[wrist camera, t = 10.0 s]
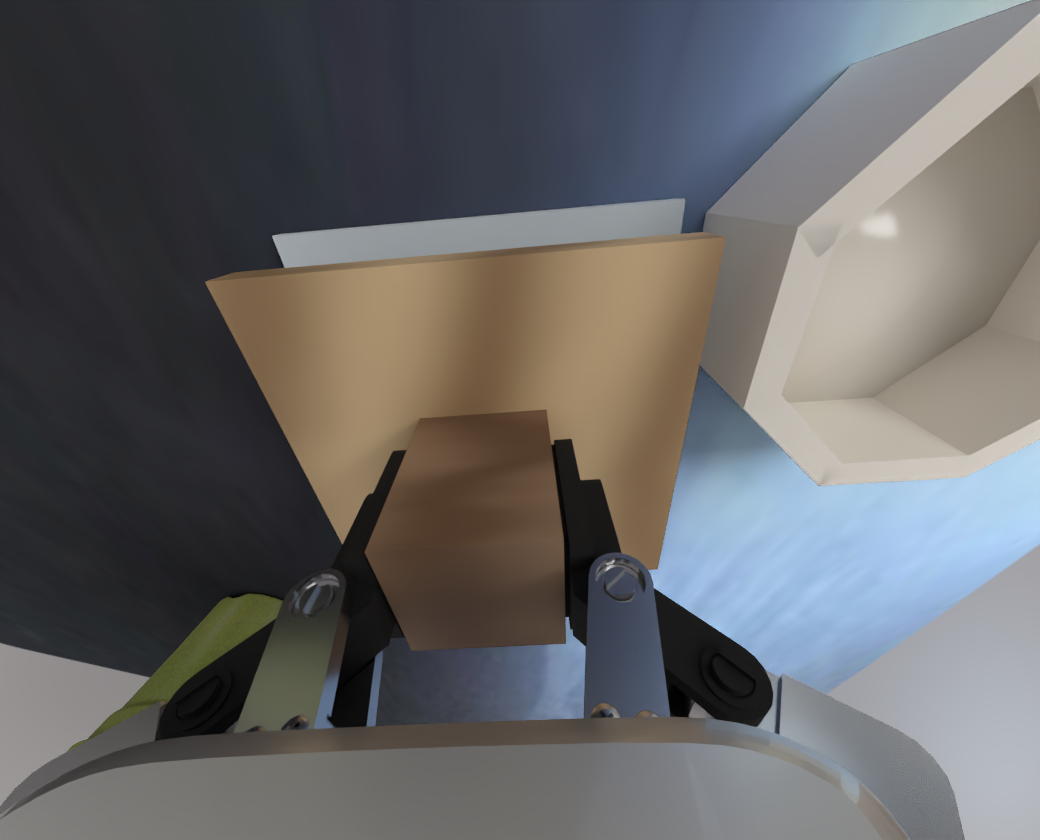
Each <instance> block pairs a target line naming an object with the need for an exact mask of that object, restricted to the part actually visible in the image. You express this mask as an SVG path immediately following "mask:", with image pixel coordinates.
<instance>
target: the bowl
mask: <svg viewBox="0 0 1040 840" xmlns="http://www.w3.org/2000/svg"><path fill="white" fill-rule="evenodd" d="M702 232H707V233H711V234H715V235H719V236H723V237H726V239H725V244H724V249H723V254H722V259H721V264H720V268H719V273H718V278H717V283H716V288H715V293H714V297H713V302H712V307H711V312H710V317H709V322H708V327H707V331H706V336H705V341H704V346H703V351H702V356H701V361H700V366H701V367H702V368H703V369H704V370H705V371H706V372H707V373H708V374H709V375H710V376H711V377H712V378H713V379H714V380H715V381H716V382H717V383H718V384H719V386H720V387H721V388H722V389H723V390H724V391H725V392H726V393H727V394H728V395H729V396H730V397H731V398H732V399H733V400H734V401H735V402H736V403H737V404H738V405H739V406H740V407H741V408H742V409H743V410H744V411H745V412H746V413H747V414H748V415H749V417H750V418H751V419H752V420H753V421H754V422H755V423H756V424H757V425H758V426H759V427H760V428H761V429H762V430H763V431H764V432H765V433H766V434H767V435H768V436H769V437H770V438H771V439H772V440H773V441H774V442H775V443H776V444H777V445H778V446H779V447H780V448H781V449H782V450H783V451H784V452H785V453H786V454H787V455H788V456H789V457H790V458H791V459H792V460H793V461H794V462H795V463H796V464H797V465H798V466H799V467H800V468H801V469H802V470H803V471H804V472H805V473H806V474H807V475H808V476H809V477H810V478H811V479H812V480H813V481H814V482H815V483H816V484H817V485H818V486H826V485H843V484H859V483H876V482H893V481H910V480H927V479H944V478H961V477H966V476H968V475H970V474H972V473H974V472H976V471H978V470H980V469H982V468H984V467H986V466H988V465H990V464H992V463H994V462H996V461H998V460H1000V459H1002V458H1004V457H1006V456H1008V455H1010V454H1012V453H1014V452H1016V451H1018V450H1020V449H1022V448H1024V447H1026V446H1028V445H1030V444H1032V443H1034V442H1036V441H1038V440H1040V0H1031V1H1028V2H1025V3H1023V4H1020V5H1017V6H1014V7H1011V8H1009V9H1006V10H1003V11H1000V12H997V13H995V14H992V15H989V16H986V17H983V18H981V19H978V20H975V21H972V22H969V23H966V24H964V25H961V26H958V27H955V28H952V29H950V30H947V31H944V32H941V33H938V34H936V35H933V36H930V37H927V38H924V39H922V40H919V41H916V42H913V43H910V44H907V45H905V46H902V47H899V48H896V49H893V50H891V51H888V52H885V53H882V54H879V55H877V56H874V57H871V58H868V59H865V60H863V61H860V62H857V63H854V64H852V65H851V66H850V67H849V68H848V69H847V70H846V71H845V72H844V73H843V74H842V75H841V76H840V77H839V78H838V79H837V80H836V81H835V82H834V83H833V84H832V85H831V86H830V87H829V88H828V89H827V90H826V91H825V92H824V93H823V94H822V95H821V96H820V97H819V98H818V99H817V100H816V101H815V102H814V104H813V105H812V106H811V107H810V108H809V109H808V110H807V111H806V112H805V113H804V114H803V115H802V116H801V117H800V118H799V119H798V120H797V121H796V122H795V123H794V124H793V125H792V126H791V127H790V128H789V129H788V130H787V131H786V132H785V133H784V134H783V135H782V136H781V137H780V138H779V139H778V140H777V141H776V142H775V143H774V144H773V145H772V146H771V147H770V148H769V149H768V150H767V151H766V152H765V153H764V154H763V155H762V156H761V157H760V158H759V159H758V160H757V161H756V162H755V163H754V164H753V165H752V166H751V167H750V168H749V169H748V170H747V171H746V172H745V174H744V175H743V176H742V177H741V178H740V179H739V180H738V181H737V182H736V183H735V184H734V185H733V186H732V187H731V188H730V189H729V190H728V191H727V192H726V193H725V194H724V195H723V196H722V197H721V198H720V199H719V200H718V201H717V202H716V203H715V204H714V205H713V206H712V207H711V208H710V209H709V210H708V211H707V212H706V214H705V220H704V226H703V231H702Z"/></svg>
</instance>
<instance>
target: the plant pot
mask: <svg viewBox="0 0 1040 840" xmlns="http://www.w3.org/2000/svg"><path fill="white" fill-rule="evenodd" d="M282 602H283V600H279V599H276V598H273V597H270V596H265V595H262V594H246V595H243V596H241V597H237V598H231V597H226V598H224V599H222V600H221V601H220V602H219V603H218V604H217V605H216V606H215V607H214V608H213V609H212V611H211V612H210V613H209V614H208V615H207V616H206V617H205V618H204V619H203V620H202V621H201V623H200V624H199V625H198V626H197V627H196V628H195V629H194V631H193V632H192V633H191V634H190V635H189V636H188V637H187V638H186V639H185V641H184V642H183V643H182V644H181V645H180V646H179V647H178V648H177V649H176V650H175V652H174V653H173V654H172V655H171V656H170V657H169V658H168V659H167V660H166V661H165V662H164V663H163V665H162V666H161V667H160V668H159V669H158V670H157V671H156V672H155V673H154V674H153V675H152V676H151V678H150V679H149V680H148V681H147V682H146V683H145V684H144V685H143V686H142V687H141V688H140V689H139V690H138V692H137V693H136V694H135V695H134V696H133V697H132V698H131V699H130V700H129V701H128V702H127V703H126V704H125V706H123V708H121V709H120V710H118V711H116V712H114V713H113V714H112V715H110V716H109V717H108V718H107V719H106V720H105V721H104V722H103V723H102V725H101V726H100V727H99V728H98V729H97V730H96V731H95V732H94V733H93V734H92V735H91V736H90V737H89V738H88V739H87V740H84V741H81V742H78V743H76V744H75V745H73V746H72V747H71V748H70V749H69V750H68V751H70V750H71V749H73V748H75V747H77V746H79V745H80V744H82V743H84V742H86V741H88V740H90V739H91V738H93V737H95V736H97V735H99V734H101V733H102V732H104V731H106V730H108V729H110V728H111V727H113V726H115V725H117V724H119V723H121V722H122V721H124V720H126V719H128V718H130V717H132V716H133V715H135V714H137V713H139V712H141V711H142V710H144V709H146V708H148V707H150V706H152V705H153V704H155V703H157V702H159V701H161V700H162V701H163V702H165V703H168V702H169V701H170V699H171V698H172V696H173V695H174V693H175V692H176V691H177V690H178V689H179V688H180V687H181V686H182V685H183V684H184V683H185V682H186V681H187V680H188V679H190V678H191V677H192V676H193V675H195V674H196V673H197V672H199V671H200V670H201V669H203V668H204V667H206V666H207V665H209V664H210V663H212V662H213V661H215V660H216V659H218V658H219V657H220V656H222V655H223V654H225V653H226V652H228V651H229V650H231V649H232V648H234V647H235V646H236V645H238V644H239V643H241V642H242V641H244V640H245V639H247V638H248V637H250V636H251V635H252V634H254V633H255V632H257V631H258V630H260V629H261V628H263V627H264V626H266V625H267V624H268V623H270V622H271V621H273V620H274V619H276V618H277V616H278V613H279V610H280V607H281V605H282ZM68 751H67V752H68Z"/></svg>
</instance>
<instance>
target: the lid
mask: <svg viewBox="0 0 1040 840" xmlns="http://www.w3.org/2000/svg"><path fill="white" fill-rule="evenodd" d="M725 239H726V237H723V236H719V235H715V234H711V233H707V232H696V233H684V234H673V235H661V236H649V237H638V238H626V239H615V240H603V241H591V242H580V243H568V244H557V245H545V246H533V247H522V248H510V249H499V250H487V251H476V252H464V253H452V254H441V255H429V256H418V257H406V258H394V259H383V260H371V261H360V262H348V263H336V264H325V265H313V266H302V267H290V268H278V269H267V270H255V271H244V272H235V273H231V274H228V275H225V276H222V277H218V278H215V279H212V280H209V281H206V282H205V283H206V285H207V287H208V289H209V291H210V292H211V294H212V296H213V298H214V300H215V302H216V304H217V306H218V308H219V310H220V312H221V314H222V315H223V317H224V319H225V321H226V323H227V325H228V327H229V329H230V331H231V333H232V335H233V336H234V338H235V340H236V342H237V344H238V346H239V348H240V350H241V352H242V354H243V356H244V357H245V359H246V361H247V363H248V365H249V367H250V369H251V371H252V373H253V375H254V377H255V378H256V380H257V382H258V384H259V386H260V388H261V390H262V392H263V394H264V396H265V398H266V400H267V401H268V403H269V405H270V407H271V409H272V411H273V413H274V415H275V417H276V419H277V421H278V422H279V424H280V426H281V428H282V430H283V432H284V434H285V436H286V438H287V440H288V442H289V443H290V445H291V447H292V449H293V451H294V453H295V455H296V457H297V459H298V461H299V463H300V464H301V466H302V468H303V470H304V472H305V474H306V476H307V478H308V480H309V482H310V484H311V486H312V487H313V489H314V491H315V493H316V495H317V497H318V499H319V501H320V503H321V505H322V507H323V508H324V510H325V512H326V514H327V516H328V518H329V520H330V522H331V524H332V526H333V528H334V529H335V531H336V533H337V535H338V537H339V539H340V541H341V543H342V545H343V543H344V541H345V538H346V536H347V534H348V532H349V530H350V528H351V526H352V524H353V522H354V520H355V518H356V516H357V514H358V512H359V510H360V508H361V505H362V503H363V501H364V499H365V498H366V496H367V495H368V494H370V493H373V492H374V490H375V488H376V486H377V483H378V481H379V479H380V477H381V475H382V473H383V471H384V468H385V466H386V464H387V462H388V460H389V458H390V456H391V453H392V452H393V451H396V450H407V451H406V453H405V456H404V458H403V461H402V463H401V465H400V468H399V470H398V473H397V475H396V478H395V480H394V482H393V485H392V487H391V490H390V492H389V494H388V497H387V499H386V502H385V504H384V507H383V509H382V511H381V514H380V516H379V519H378V521H377V523H376V526H375V528H374V531H373V533H372V535H371V538H370V540H369V543H368V545H367V548H366V550H365V554H366V557H367V559H368V561H369V563H370V565H371V567H372V569H373V571H374V573H375V575H376V577H377V579H378V581H379V584H380V586H381V588H382V590H383V592H384V594H385V596H386V598H387V600H388V602H389V604H390V606H391V608H392V611H393V613H394V615H395V617H396V619H397V621H398V623H399V625H400V627H401V629H402V631H403V633H404V635H405V638H406V640H407V642H408V644H409V646H410V648H411V650H412V651H419V650H440V649H461V648H483V647H504V646H525V645H546V644H566V628H565V574H564V538H563V530H562V523H561V515H560V508H559V500H558V493H557V485H556V478H555V470H554V463H553V455H552V448H551V445H554V440H560V439H572V443H573V447H574V452H575V457H576V461H577V466H578V471H579V475H580V480H592V479H600V480H601V482H602V485H603V489H604V492H605V496H606V499H607V503H608V506H609V510H610V513H611V517H612V520H613V524H614V527H615V531H616V534H617V538H618V542H619V545H620V549H621V552H622V553H623V554H627V555H630V556H632V557H634V558H636V559H638V560H639V561H640V562H641V563H642V564H643V565H645V567H646V568H647V570H651V569H658V564H659V559H660V555H661V550H662V545H663V540H664V535H665V530H666V525H667V521H668V516H669V511H670V506H671V501H672V496H673V491H674V487H675V482H676V477H677V472H678V467H679V462H680V458H681V453H682V448H683V443H684V438H685V433H686V428H687V424H688V419H689V414H690V409H691V404H692V399H693V394H694V390H695V385H696V380H697V375H698V370H699V365H700V361H701V356H702V351H703V346H704V341H705V336H706V331H707V327H708V322H709V317H710V312H711V307H712V302H713V297H714V293H715V288H716V283H717V278H718V273H719V268H720V264H721V259H722V254H723V249H724V244H725Z"/></svg>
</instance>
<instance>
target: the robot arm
mask: <svg viewBox="0 0 1040 840" xmlns="http://www.w3.org/2000/svg"><path fill="white" fill-rule="evenodd" d="M551 448H552V455H553V463H554V470H555V478H556V485H557V493H558V500H559V508H560V515H561V523H562V530H563V538H564V574H565V617H569V621H570V629H573V636H574V637H576V638H577V639H578V640H579V641H580V642H581V643H582V644H584V645H585V646H586V660H585V693H584V718H583V719H554V720H525V721H496V722H470V723H444V724H419V725H394V726H375V722H376V713H377V704H378V695H379V686H380V677H381V668H382V659H383V649H384V648H385V647H386V646H388V645H389V642H390V638H403V637H404V633H403V631H402V629H401V627H400V625H399V623H398V621H397V619H396V617H395V615H394V613H393V611H392V608H391V606H390V604H389V602H388V600H387V598H386V596H385V594H384V592H383V590H382V588H381V586H380V584H379V581H378V579H377V577H376V575H375V573H374V571H373V569H372V567H371V565H370V563H369V561H368V559H367V557H366V554H365V550H366V548H367V545H368V543H369V540H370V538H371V535H372V533H373V531H374V528H375V526H376V523H377V521H378V519H379V516H380V514H381V511H382V509H383V507H384V504H385V502H386V499H387V497H388V494H389V492H390V490H391V487H392V485H393V482H394V480H395V478H396V475H397V473H398V470H399V468H400V465H401V463H402V461H403V458H404V456H405V453H406V451H407V450H396V451H393V452H392V453H391V456H390V458H389V460H388V462H387V464H386V466H385V468H384V471H383V473H382V475H381V477H380V479H379V481H378V483H377V486H376V488H375V490H374V492H373V493H370V494H368V495H367V496H366V498H365V499H364V501H363V503H362V505H361V508H360V510H359V512H358V514H357V516H356V518H355V520H354V522H353V524H352V526H351V528H350V530H349V532H348V534H347V536H346V538H345V541H344V543H343V545H342V547H341V549H340V551H339V553H338V555H337V557H336V559H335V561H334V563H333V565H332V567H331V568H330V569H321V570H318V571H315V572H312V573H310V574H309V575H307V576H305V577H303V578H302V579H301V580H300V581H298V582H297V583H296V584H295V585H294V586H293V587H292V588H291V589H290V590H289V592H288V593H287V594H286V596H285V598H284V600H283V602H282V605H281V607H280V610H279V613H278V616H277V618H276V619H274V620H273V621H271V622H270V623H268V624H267V625H266V626H264V627H263V628H261V629H260V630H258V631H257V632H255V633H254V634H252V635H251V636H250V637H248V638H247V639H245V640H244V641H242V642H241V643H239V644H238V645H236V646H235V647H234V648H232V649H231V650H229V651H228V652H226V653H225V654H223V655H222V656H220V657H219V658H218V659H216V660H215V661H213V662H212V663H210V664H209V665H207V666H206V667H204V668H203V669H201V670H200V671H199V672H197V673H196V674H195V675H193V676H192V677H191V678H190V679H188V680H187V681H186V682H185V683H184V684H183V685H182V686H181V687H180V688H179V689H178V690H177V691H176V692H175V693H174V695H173V696H172V698H171V699H170V701H169V702H168V703H165V702H163V701H162V700H161V701H159V702H157V703H155V704H153V705H152V706H150V707H148V708H146V709H144V710H142V711H141V712H139V713H137V714H135V715H133V716H132V717H130V718H128V719H126V720H124V721H122V722H121V723H119V724H117V725H115V726H113V727H111V728H110V729H108V730H106V731H104V732H102V733H101V734H99V735H97V736H95V737H93V738H91V739H90V740H88V741H86V742H84V743H82V744H80V745H79V746H77V747H75V748H73V749H71V750H70V751H68V752H66V753H64V754H62V755H60V756H59V757H57V758H55V759H53V760H52V761H50V762H48V763H47V764H45V765H44V766H42V767H41V768H39V769H38V770H36V771H35V772H33V773H32V774H31V775H30V776H28V777H27V778H26V779H25V780H24V781H23V782H22V783H21V784H20V785H18V786H17V787H16V788H15V789H14V790H13V792H12V793H11V794H10V795H9V796H8V797H7V799H6V800H5V801H4V802H3V804H2V805H1V806H0V840H965V839H964V834H963V830H962V826H961V821H960V817H959V812H958V808H957V804H956V799H955V795H954V792H953V790H952V787H951V785H950V782H949V780H948V778H947V776H946V774H945V773H944V771H943V770H942V769H941V767H940V766H939V765H938V763H937V762H936V760H935V759H934V758H933V757H932V756H931V755H930V754H929V753H928V752H927V751H926V750H925V749H924V748H923V747H922V746H921V745H920V744H918V743H917V742H916V741H915V740H913V739H912V738H910V737H909V736H907V735H905V734H904V733H902V732H901V731H899V730H897V729H895V728H893V727H891V726H889V725H887V724H885V723H883V722H881V721H879V720H877V719H875V718H873V717H871V716H869V715H867V714H865V713H863V712H860V711H859V710H856V709H854V708H852V707H850V706H848V705H846V704H844V703H842V702H840V701H838V700H836V699H834V698H832V697H830V696H828V695H826V694H824V693H822V692H820V691H818V690H816V689H814V688H812V687H809V686H807V685H805V684H803V683H801V682H799V681H797V680H795V679H793V678H791V677H789V676H787V675H785V674H782V675H781V677H779V676H777V675H775V674H773V673H771V672H769V671H767V670H765V669H764V667H763V666H762V665H761V664H760V663H759V661H758V660H757V659H756V658H755V657H754V656H753V655H752V654H751V653H750V652H748V651H747V650H746V649H745V648H743V647H742V646H740V645H739V644H737V643H736V642H734V641H733V640H731V639H730V638H728V637H727V636H725V635H724V634H722V633H721V632H719V631H718V630H716V629H715V628H713V627H712V626H710V625H709V624H707V623H706V622H704V621H703V620H701V619H700V618H698V617H697V616H695V615H694V614H692V613H691V612H689V611H688V610H686V609H685V608H683V607H682V606H680V605H678V604H677V603H675V602H674V601H672V600H671V599H669V598H668V597H666V596H665V595H663V594H662V593H660V592H659V591H657V590H656V589H654V587H653V581H652V578H651V575H650V573H649V571H648V570H647V568H646V567H645V565H643V564H642V563H641V562H640V561H639V560H638V559H636V558H634V557H632V556H630V555H627V554H623V553H622V552H621V549H620V545H619V542H618V538H617V534H616V531H615V527H614V524H613V520H612V517H611V513H610V510H609V506H608V503H607V499H606V496H605V492H604V489H603V485H602V482H601V480H600V479H592V480H580V475H579V471H578V466H577V461H576V457H575V452H574V447H573V443H572V439H560V440H554V445H551Z"/></svg>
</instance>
